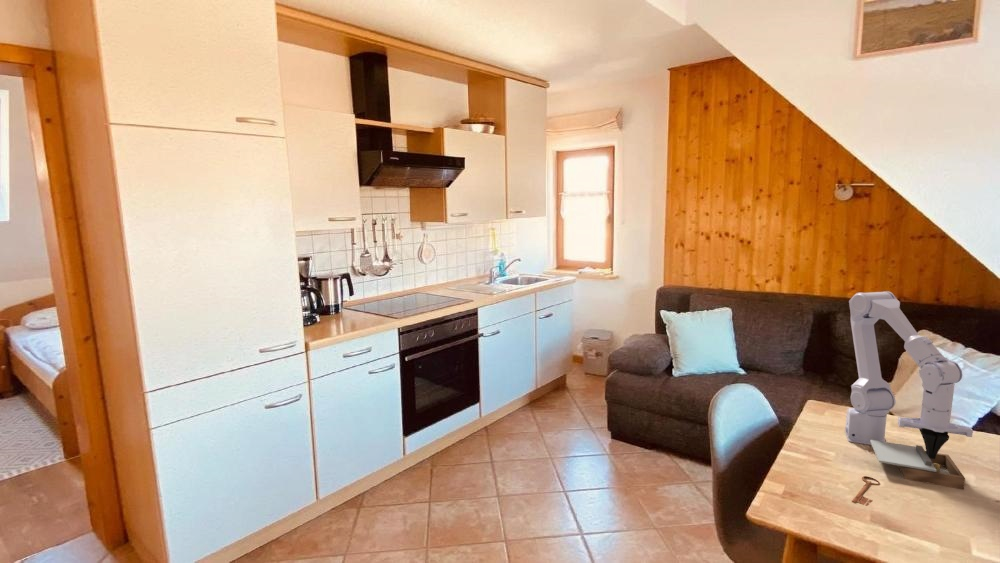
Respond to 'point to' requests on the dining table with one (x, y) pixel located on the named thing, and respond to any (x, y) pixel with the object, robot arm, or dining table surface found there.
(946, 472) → the dice set
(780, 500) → the dining table surface
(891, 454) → the lid
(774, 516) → the dining table surface
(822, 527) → the dining table surface
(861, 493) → the key
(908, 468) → the box
